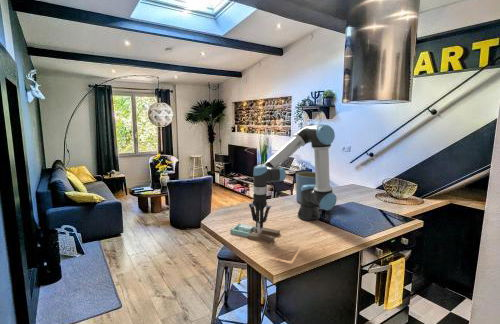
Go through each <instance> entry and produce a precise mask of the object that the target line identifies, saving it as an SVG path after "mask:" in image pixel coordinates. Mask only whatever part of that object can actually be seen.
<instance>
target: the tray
mask: <svg viewBox="0 0 500 324" xmlns="http://www.w3.org/2000/svg"><path fill="white" fill-rule="evenodd" d="M241 224H243V225H248V226H253V227H254V228H253V232H255V228H256V225H255V226H254V225H250V224H245V223H239V222H238V224H236V225H234V226H233V227H232V228H231V229H230V230H229V231H230V232H229V233H230V234H231V235H237V236H242V237H245V238H248V234H249V233H248V232H244V231H239V230H238V226H240V225H241Z"/></svg>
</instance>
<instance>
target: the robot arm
mask: <svg viewBox="0 0 500 324" xmlns="http://www.w3.org/2000/svg"><path fill="white" fill-rule="evenodd" d="M335 137H336V135H335V131H334V128H332V126H330V125H328V124H325V123H323V124H320V123H319V124H307V125H305V126H304V127H302V128H300V129H299V130H297V131H296V133H294V135H293V137H292V138H291V139H290V140H289V141H288V142H286V143H285V144H284V145H283V146H282V147H281V148H280V149H279V150H277V151H276V152H275V153H274V154H273V155H272V156H271V157H270V158H269V159H268V160H267V161H265V162H264V163H262V164H261V163H260V164H258V165H255V166H254V167H253V175H252V176H253V180H252V181H253V185H252V186H253V188H252V189H253V193H252V195H253V197H252V199H253V201H252V202H251V203H249V204H248V207H249V209H250V213H251V218H252V220H253V221H254V222H255V226H256V227H257V234H260V233H261V232H262V228H263V227H264V223H266V222H267V220H268V215H269V212H270V210H271V208H272V205H268V203H267V192H268V191H267V190H268V187H267V185H268V183H274V182H283V181H284V180H286V177H287V171H286V170H285V169H284V167H280V166H281V165H282V164H283V163H284V162H285V161H287V160H288V159H289V158H290V157H291V156H293V154H294V153H296V151H298V150H299V149H300V148H301V147H305V145H307V144H311V148H312V149H313V150H314V151H313V152H314V153H313V154H314V172H315V177H316V185H303V186H302V187H301V203H300V207H299V209H298V212H297V218H298V219H300V220H303V221H307V222H315V221H318V220H320V215H321V214H320V211H319V209H320V210H324V211H330V210H333V208H334V206H335V205H336V203H337V201H338V200H337V199H338V198H337V195H336V194H335V193H333V187H332V186H331V185H330V183H331V182H330V156H329V155H330V153H329V149H330V148H331V147H332V143H333V142H334V140H335ZM264 210H265V212H264Z"/></svg>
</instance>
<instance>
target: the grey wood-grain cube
mask: <svg viewBox="0 0 500 324" xmlns="http://www.w3.org/2000/svg"><path fill="white" fill-rule="evenodd" d="M246 225H247V226H246V227H245V228H244V232H248V233H251V232H252V233H254V230H253V228H254V227H253V226H254V225H251V226H248V225H249V224H246Z"/></svg>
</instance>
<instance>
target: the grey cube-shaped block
mask: <svg viewBox="0 0 500 324" xmlns="http://www.w3.org/2000/svg"><path fill="white" fill-rule="evenodd" d="M240 224H241V225H240V226H238V230H239V231H244V228H245V227H246V226H247V225H248V224H246V225H243V224H244V223H240Z"/></svg>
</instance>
